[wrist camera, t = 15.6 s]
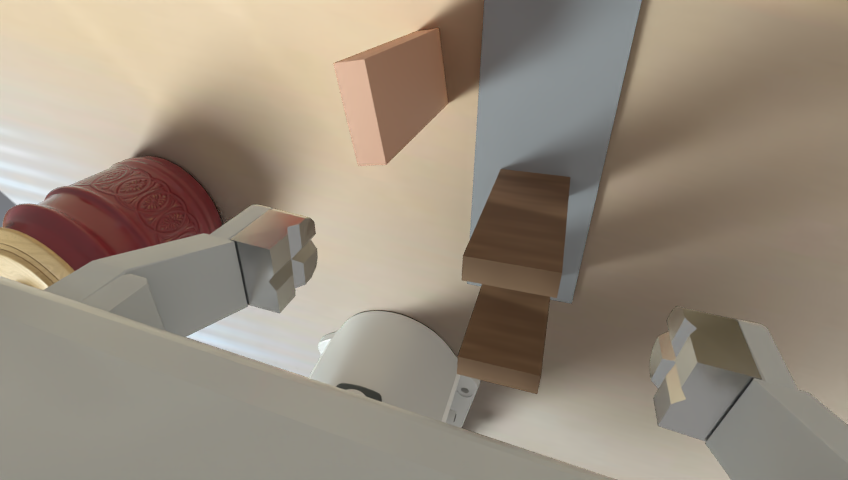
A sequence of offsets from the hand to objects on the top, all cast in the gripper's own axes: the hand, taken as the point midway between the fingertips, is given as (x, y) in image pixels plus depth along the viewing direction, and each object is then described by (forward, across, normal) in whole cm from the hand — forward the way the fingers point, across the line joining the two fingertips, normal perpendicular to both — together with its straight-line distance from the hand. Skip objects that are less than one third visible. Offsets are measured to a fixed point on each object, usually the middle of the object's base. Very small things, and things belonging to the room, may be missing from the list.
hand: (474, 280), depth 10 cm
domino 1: (+23, +8, +1) cm, 24 cm away
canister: (+23, +36, +19) cm, 47 cm away
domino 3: (+22, -1, +15) cm, 27 cm away
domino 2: (+23, -1, +8) cm, 24 cm away
